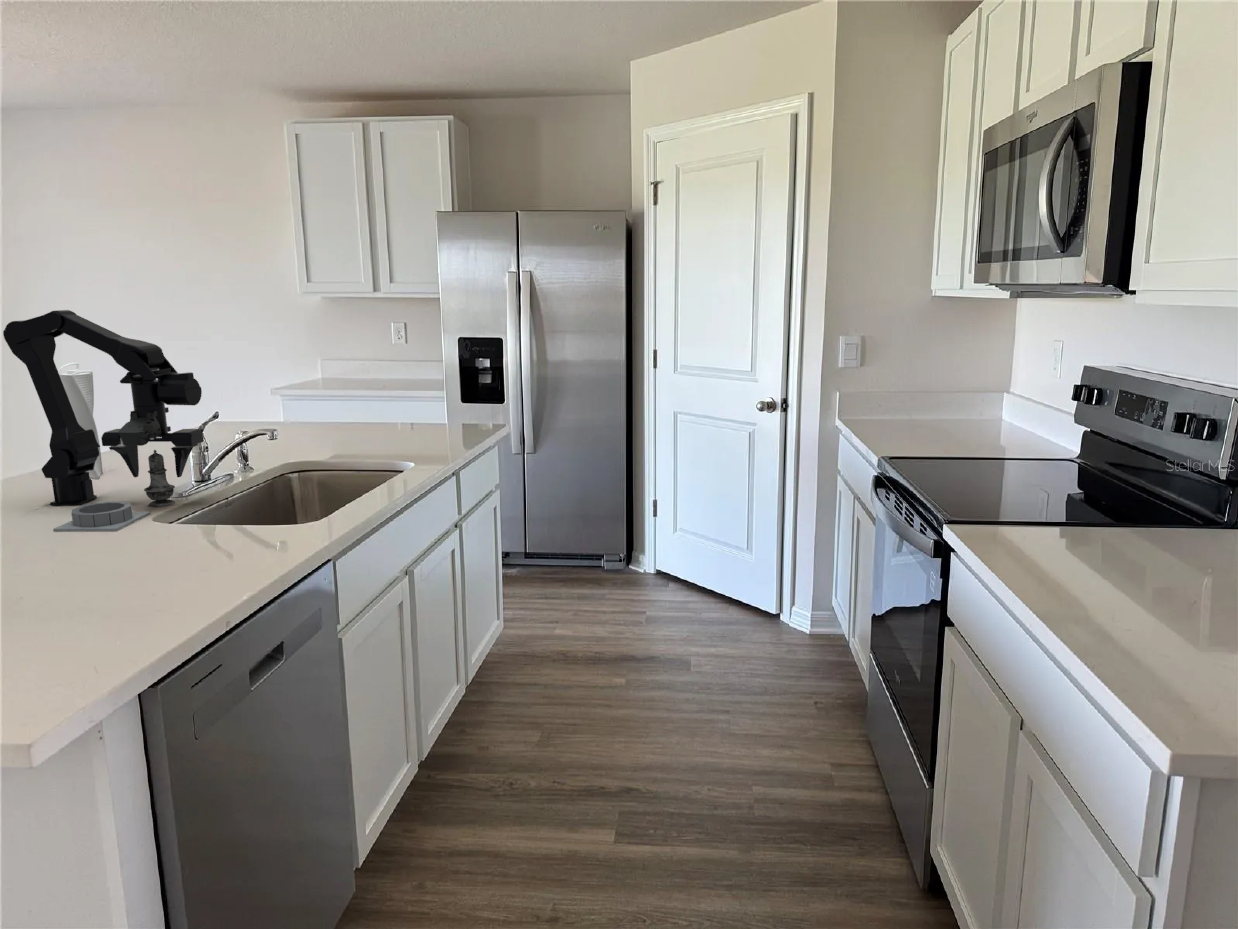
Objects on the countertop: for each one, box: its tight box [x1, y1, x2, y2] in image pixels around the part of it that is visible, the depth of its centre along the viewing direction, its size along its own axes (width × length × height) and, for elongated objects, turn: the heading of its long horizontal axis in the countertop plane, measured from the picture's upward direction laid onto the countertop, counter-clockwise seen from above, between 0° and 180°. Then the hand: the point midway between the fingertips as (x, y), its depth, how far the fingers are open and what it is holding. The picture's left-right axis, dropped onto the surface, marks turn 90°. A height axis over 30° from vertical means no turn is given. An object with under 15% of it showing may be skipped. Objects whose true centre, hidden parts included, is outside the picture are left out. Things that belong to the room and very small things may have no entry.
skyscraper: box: [57, 362, 103, 480], centre depth 200 cm, size 8×8×28 cm
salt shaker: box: [143, 449, 176, 508], centre depth 177 cm, size 6×6×12 cm
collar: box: [52, 500, 151, 532], centre depth 164 cm, size 12×12×3 cm
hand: (157, 477), depth 177 cm, fingers open, 9 cm apart
